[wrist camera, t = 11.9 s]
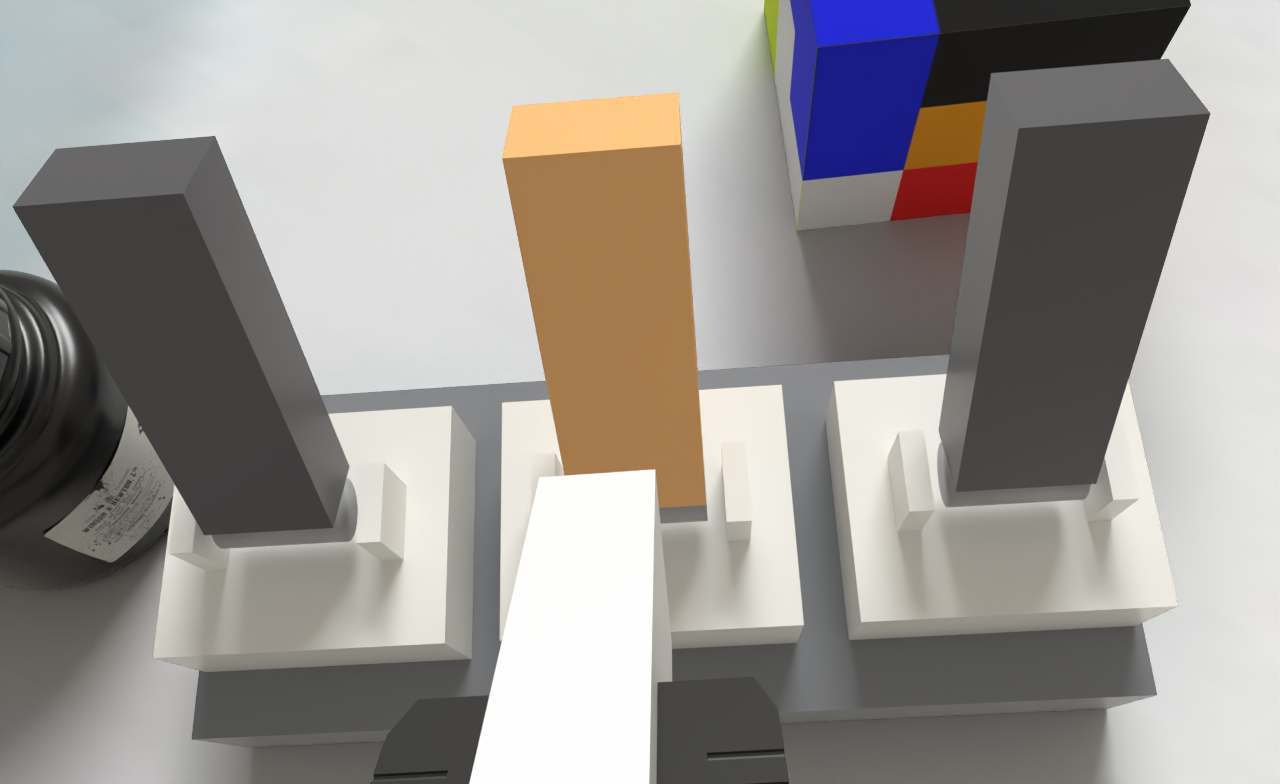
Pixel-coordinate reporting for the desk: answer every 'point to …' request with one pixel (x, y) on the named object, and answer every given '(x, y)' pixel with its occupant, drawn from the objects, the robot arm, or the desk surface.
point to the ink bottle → (67, 450)
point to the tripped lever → (612, 287)
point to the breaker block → (732, 447)
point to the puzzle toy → (922, 90)
